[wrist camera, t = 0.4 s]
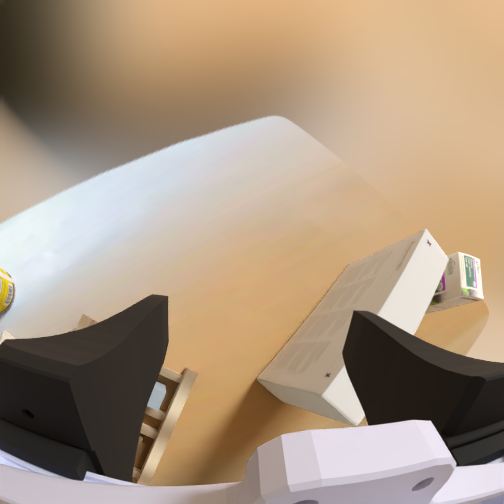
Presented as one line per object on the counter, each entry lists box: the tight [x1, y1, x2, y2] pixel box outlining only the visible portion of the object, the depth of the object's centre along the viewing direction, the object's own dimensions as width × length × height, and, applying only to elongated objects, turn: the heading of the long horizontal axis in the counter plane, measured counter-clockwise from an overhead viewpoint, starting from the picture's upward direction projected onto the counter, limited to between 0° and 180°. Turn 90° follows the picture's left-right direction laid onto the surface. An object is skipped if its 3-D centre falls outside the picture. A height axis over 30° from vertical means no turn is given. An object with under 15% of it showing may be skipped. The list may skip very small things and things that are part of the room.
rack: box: [75, 314, 198, 486], centre depth 29 cm, size 16×14×3 cm
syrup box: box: [425, 252, 484, 314], centre depth 39 cm, size 6×6×14 cm
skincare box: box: [257, 229, 449, 426], centre depth 33 cm, size 21×5×16 cm, turn 139°
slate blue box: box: [147, 381, 166, 411], centre depth 29 cm, size 2×9×7 cm, turn 68°
